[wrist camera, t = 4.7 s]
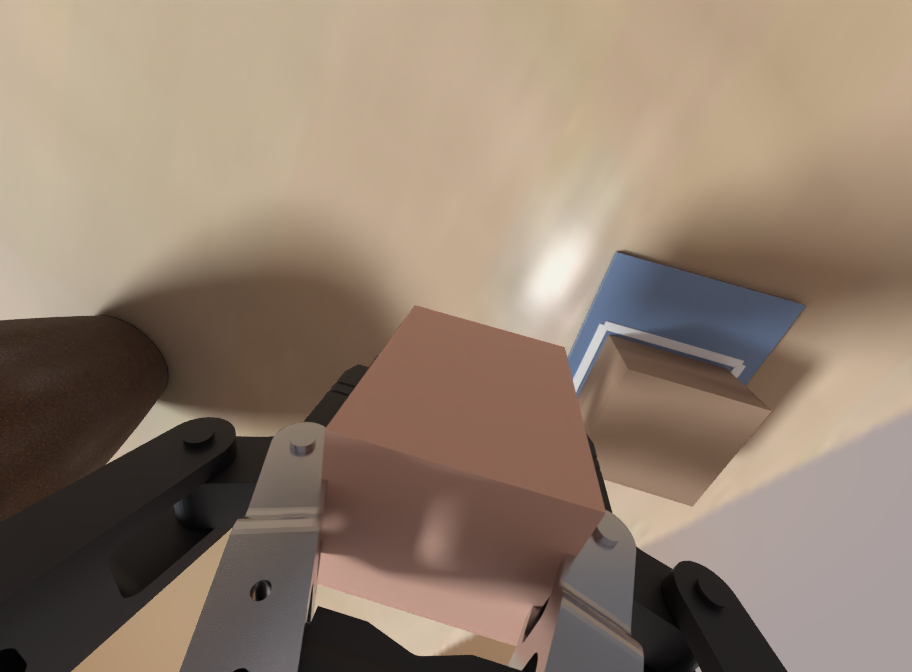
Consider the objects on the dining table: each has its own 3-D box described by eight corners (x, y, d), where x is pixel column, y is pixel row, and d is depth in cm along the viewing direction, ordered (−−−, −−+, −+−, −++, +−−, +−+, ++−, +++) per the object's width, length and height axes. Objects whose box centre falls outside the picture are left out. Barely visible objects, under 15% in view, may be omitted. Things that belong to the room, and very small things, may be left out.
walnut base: (608, 334, 21) (628, 368, 17) (726, 368, 20) (771, 411, 17) (563, 424, 24) (572, 469, 20) (665, 455, 23) (692, 506, 20)
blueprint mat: (616, 251, 19) (618, 253, 18) (800, 303, 19) (807, 306, 18) (529, 441, 25) (530, 445, 25) (666, 482, 25) (669, 488, 24)
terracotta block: (414, 305, 11) (324, 429, 6) (564, 347, 11) (605, 512, 6) (393, 420, 14) (313, 582, 8) (516, 456, 14) (515, 646, 8)
